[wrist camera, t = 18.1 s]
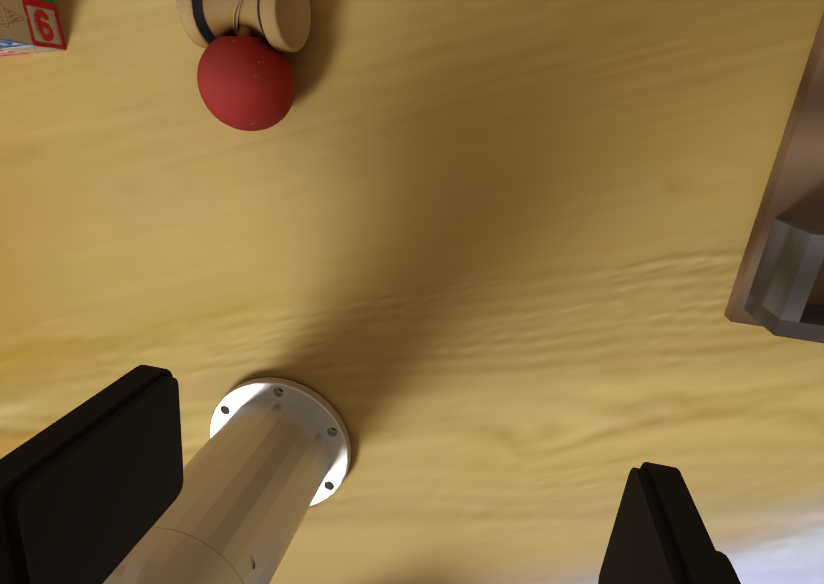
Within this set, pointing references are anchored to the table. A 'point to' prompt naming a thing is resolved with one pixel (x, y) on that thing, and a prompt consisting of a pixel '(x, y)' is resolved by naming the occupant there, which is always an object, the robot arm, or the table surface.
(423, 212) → the table surface
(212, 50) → the kendama
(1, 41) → the stack of blocks
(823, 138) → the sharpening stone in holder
